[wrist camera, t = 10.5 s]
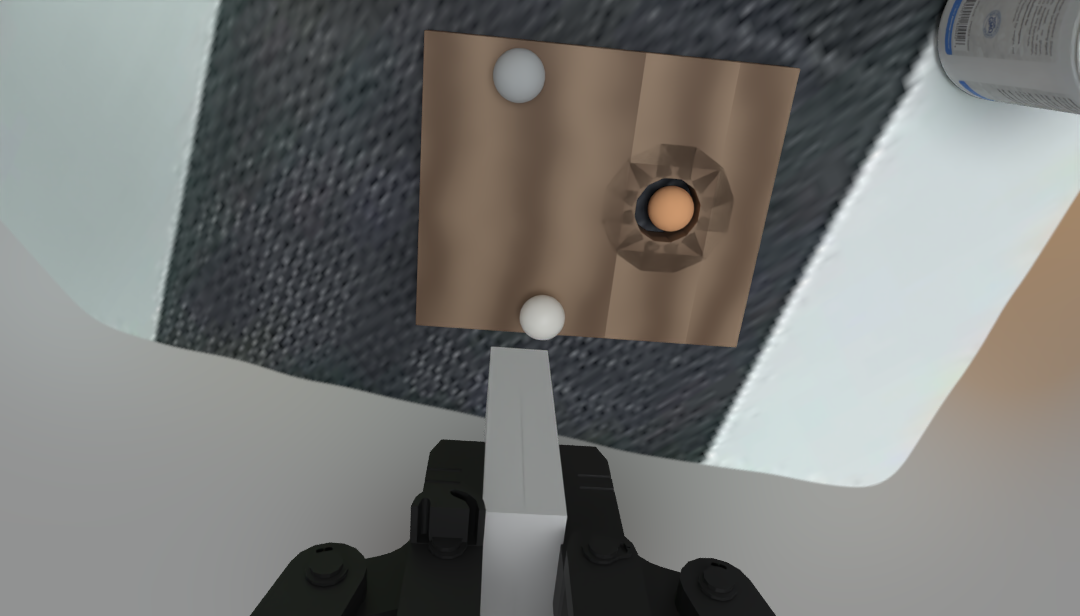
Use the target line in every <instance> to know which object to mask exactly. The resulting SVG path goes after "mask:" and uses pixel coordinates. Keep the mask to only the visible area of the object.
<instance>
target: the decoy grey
mask: <svg viewBox="0 0 1080 616" xmlns="http://www.w3.org/2000/svg"><path fill="white" fill-rule="evenodd" d="M493 81H494V84H495V87H496V89H497V91H498V92H499V94H500V95H501V96H502V97H504V98H505V99H507V100H508V101H511V102H514V103H525V102H528V101H530V100H532V99H534V98H535V97H536V96H537V95H538V94H539V93H540V91H541V90H542V88H543V85H544V82H545V70H544V66H543V64H542V62H541V60H540V59H539V57H538V56H537V55H536V54H534V53H533V52H532V51H530V50H527V49H523V48H514V49H511V50H508V51H506V52H505V53H503V54H502V55H501V56H500V57H499V59H498V60H497V62H496V64H495V66H494V70H493Z"/></svg>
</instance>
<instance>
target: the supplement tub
mask: <svg viewBox="0 0 1080 616" xmlns="http://www.w3.org/2000/svg"><path fill="white" fill-rule="evenodd" d="M938 52H939V57H940V60H941V64H942V66H943V68H944V70H945V72H946V74H947V76H948V77H949V78H950V79H951V81H952V82H953V83H954V84H955V85H957V86H958V87H959V88H960V89H962V90H963V91H965V92H966V93H968V94H970V95H972V96H975V97H978V98H981V99H987V100H991V101H998V102H1004V103H1010V104H1017V105H1024V106H1030V107H1036V108H1043V109H1049V110H1055V111H1061V112H1068V113H1074V114H1080V0H948V2H947V4H946V6H945V8H944V11H943V13H942V16H941V20H940V25H939V31H938Z"/></svg>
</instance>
